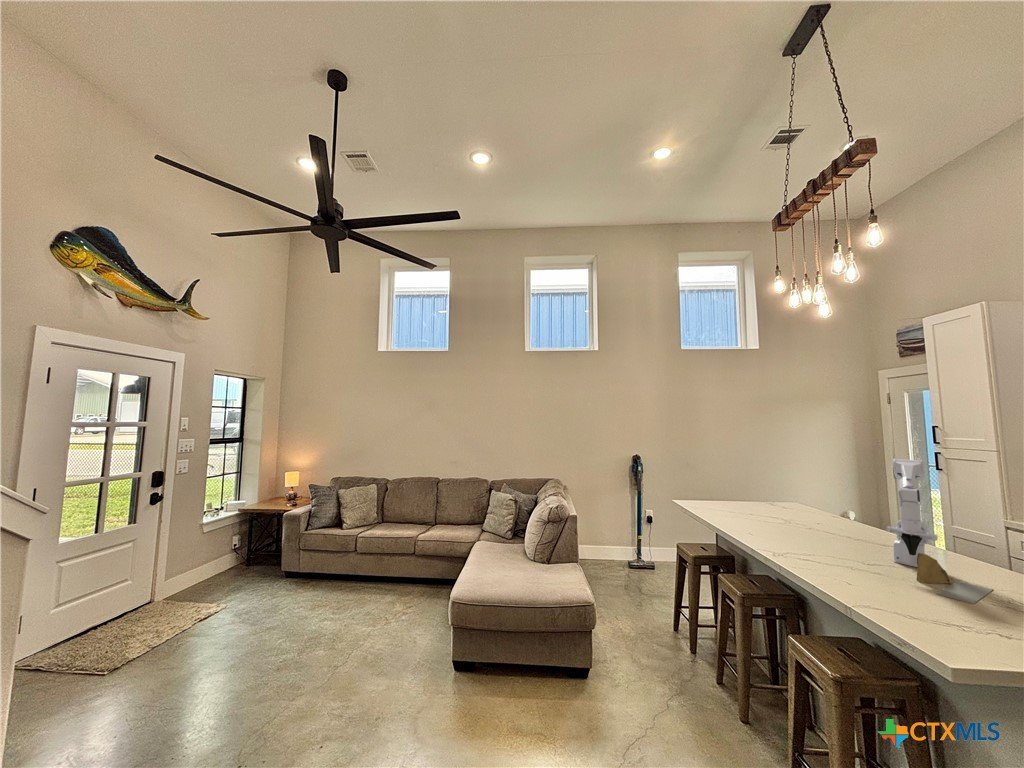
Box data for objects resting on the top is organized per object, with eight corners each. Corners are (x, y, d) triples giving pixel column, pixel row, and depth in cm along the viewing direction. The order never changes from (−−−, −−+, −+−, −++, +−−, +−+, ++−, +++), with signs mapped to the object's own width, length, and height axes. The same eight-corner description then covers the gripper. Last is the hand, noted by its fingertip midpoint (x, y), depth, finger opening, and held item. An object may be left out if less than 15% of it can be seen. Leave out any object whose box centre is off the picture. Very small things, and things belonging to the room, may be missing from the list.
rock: (950, 574, 162) (914, 564, 168) (954, 560, 158) (918, 550, 164) (951, 598, 155) (914, 587, 162) (956, 584, 151) (918, 573, 158)
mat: (936, 594, 148) (936, 593, 148) (958, 581, 161) (958, 580, 161) (973, 604, 141) (973, 603, 141) (993, 590, 153) (993, 589, 153)
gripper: (883, 516, 171) (884, 551, 170) (932, 524, 158) (934, 561, 157) (890, 514, 174) (891, 548, 173) (938, 522, 162) (940, 558, 161)
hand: (912, 554), depth 165 cm, fingers closed
